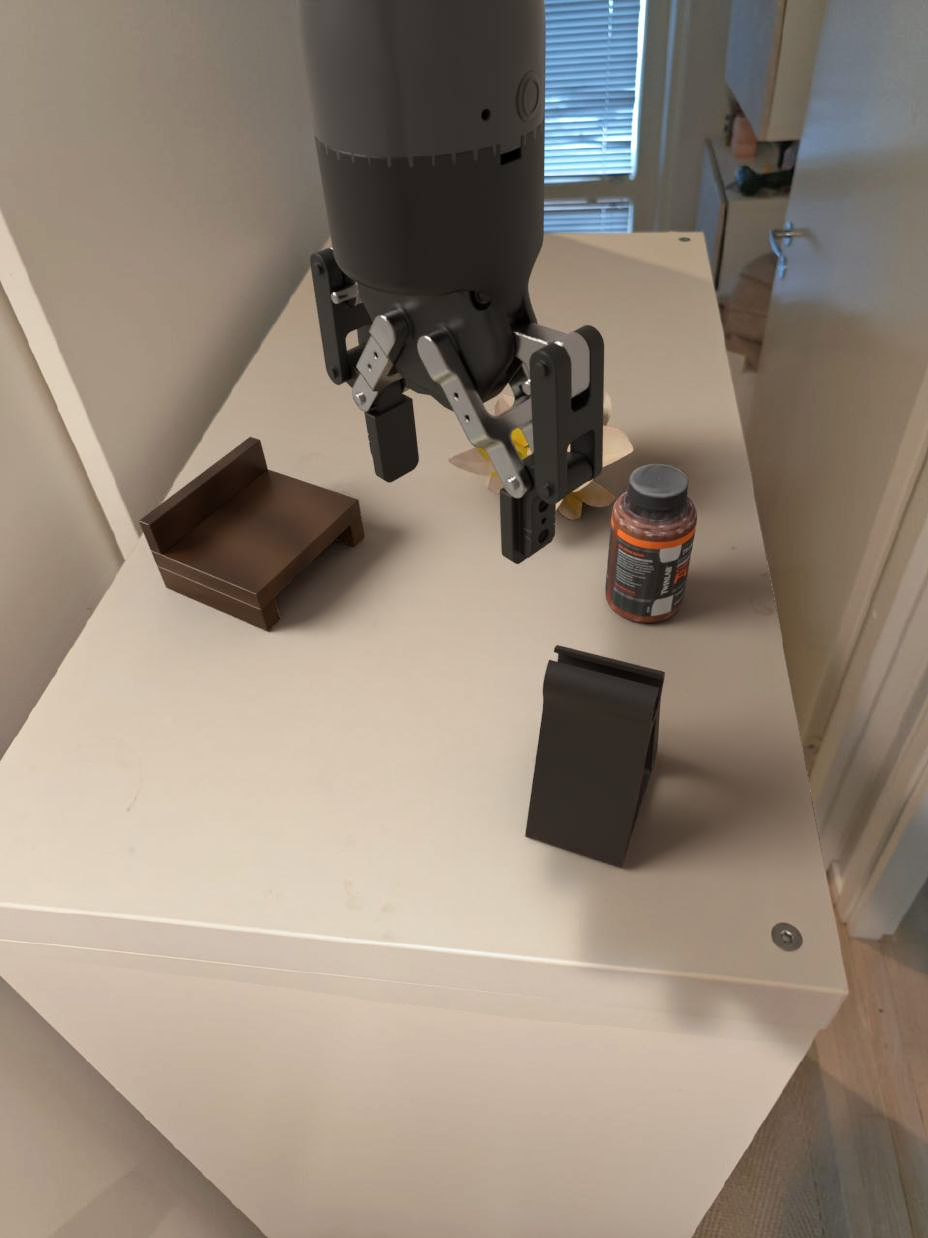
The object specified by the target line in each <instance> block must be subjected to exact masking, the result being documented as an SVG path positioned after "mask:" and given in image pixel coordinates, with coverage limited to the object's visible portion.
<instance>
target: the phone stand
mask: <svg viewBox="0 0 928 1238" xmlns="http://www.w3.org/2000/svg"><path fill="white" fill-rule="evenodd" d="M553 653H555V654H557V660H553V659H548V661H547V665H546V667H545V672H544V677H543V682H542V711H541V718H540V726H539V732H538V740H537V746H536V747H537V748H536V755H535V762H534V769H533V776H532V784H531V791H530V798H529V806H528V811H527V819H526V825H525V833H524V834H525V835H524V836H525V838H528V839H531V840H533V841H535V842H537V841H538V842H540V843H543V844H545V845H549V846H552V847H555V848H557V849H558V848H559V849H561V850H564V851H567V852H570V853H573V854H576V855H579V856H583V857H586V858H588V859H592V860H595V861H598V862H601V863H604V864H607V865H610V866H613V867H616V868H619V869H623V866H624V862H625V859H626V855H627V854H628V853H627V852H628V849H629V846H630V842H631V839H632V837H633V833H634V829H635V826H636V822H637V819H638V816H639V813H640V809H641V807H642V803H643V800H644V796H645V793H646V790H647V788H648V783H649V780H650V777H651V774H652V770H653V767H654V764H655V761H656V758H657V753H658V747H659V732H660V731H659V730H660V719H661V717H660V716H661V715H660V714H661V701H662V694H663V688H664V683H665V677H666V671H663V670H659V669H654V668H651V667H647V666H643V665H639V664H635V663H631V662H627V661H623V660H619V659H615V658H611V657H607V656H603V655H599V654H595V653H591V652H587V651H583V650H579V649H575V648H571V647H567V646H563V645H560V644H556V645H555V646H554V648H553Z"/></svg>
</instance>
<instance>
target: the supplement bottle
mask: <svg viewBox="0 0 928 1238" xmlns="http://www.w3.org/2000/svg"><path fill="white" fill-rule="evenodd" d="M688 490H689V478H688V476H687V475H686V473H685V472H683V471H682V470H681V469H679V468H678V467H675V466H673V465H669V464H664V463H648V464H644V465H641V466H639V467H637V468H636V469H634V470H633V471H632V472H631V473H630V476H629V480H628V486H627V489H626V491H624V492H623V493H622V494H621V495H619V496H618V498H617V499H615V500H616V501H614V504H613V507H612V511H611V517H610V528H609V529H610V530H609V542H608V552H607V561H606V562H607V563H606V564H607V565H606V575H605V587H604V589H605V591H604V593H605V594H604V595H605V600H606V602H607V603H608V604H607V605H608V606H609V607H610V609H611V610H612V611H613V612H614V613H615V614H617V615H618V616H620V617H621V618H623V619H626V620H628V621H631V622H636V623H641V624H642V623H644V624H652V623H659V622H663V621H665V620H667V619H670V618H671V617H673V615H674V616H675V614H676V613H677V612H678V611H679V609H680V608H681V607H682V604H683V599H684V597H685V592H686V585H687V580H688V574H689V568H690V562H691V557H692V552H693V546H694V541H695V536H696V528H697V523H698V512H697V508H696V505H695V503H694V502H693V500H692V499H691V498H690V497H689V496H688V494H689V492H688Z"/></svg>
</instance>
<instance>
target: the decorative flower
mask: <svg viewBox="0 0 928 1238" xmlns="http://www.w3.org/2000/svg"><path fill="white" fill-rule="evenodd" d="M513 403H514V395H513V396H512V395H508V394H501V395H500V396H499V398H498V399H497V401H496V403H495V404H494V409H493V410H494V416H497V415H499V414H500V413H502V412H504V411H506V410H507V409H509V408H511V407H512V405H513ZM612 405H613V404H612V399H611V397H610V395H609V393H608V392H607V391H605V390H604V403H603V468H605V467H606V466H608V465H611V464H613V463H615V462H617V461H619V460H621V459H623V458H624V457H626V456H628V455H630V454H631V453H632V452H634V446H633V444H632V442H631V440H630V439H629V438H628V436H627V434H626V433H625V432H623V431H621V430H619V429H618V428H616V427H612V426H608V423H609V421H610V418H611V415H612V409H613V406H612ZM511 438H512V441H513V443H514V445H515V447H516V449H517V451H518V453H519V455H520V458H521V460H522V459H524V458H526V457H527V456H529V455H531V454H532V451H531V449H530V447H529V445H528V443H527V441H526V439H525V437H524V435H523V433H522V431H521V430H520V429H519V428H516V429H515V430H513V432H512V434H511ZM567 452H570V445H569V446H568V449H567ZM447 461H448V463H450V464H451V465H452V466H454V467H456V468H458V469H461V470H464V471H465V472H469V473H472V474H474V475H475V474H476V475H478V476H483V477H486V478H485V479H484V484H485V486H486V489H487V490H488V491H489V492H492V493H493V494H496V495H499V496H500V489H502V488H504V486H503V484H502V482H501V480H500V478H499V476H498V474H497V472H496V470H495V468H494V466H493V464H492V462H491V460H490V458H489V456H488V454H487V452H486V451H485V450H484V449H483V448H477V447H472V448H470V449H468V450H466V451H465V450H464V451H463V452H459V453H458V454H455V455H453V456H452V457H449V458H447ZM615 500H616V496H615V495H614V494H612V493H611V492H610V491H608V489H606V488H605V487H604V486H602V485H600V484H599V483H597V482H595V481H594V479H592V480H591V481H588V482H586V483H585V484H583V485H582V486H580V487H579V488H577V489H576V490H574V491H573V492H571V493H570V494H568V495H567V496H566V497H565V498H564V499H562V500H561V501H559V502H558V503H556V511H557V510H558V511H559V513H560V514H562V515H563V516H564V517H565V518H566V519H569V520H571V521H573V520H574V521H575V520H577V519H580V518H581V516H582V510H583V509H582V508H583V507H582V506H583V503H585V504H586V505H588V506H591V507H596V508H604V507H608V506H609V505H611V504H612V503H613V502H615Z"/></svg>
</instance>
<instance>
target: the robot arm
mask: <svg viewBox="0 0 928 1238" xmlns="http://www.w3.org/2000/svg"><path fill="white" fill-rule="evenodd" d="M295 2H296V19H297V21H296V22H297V33H298V34H297V35H298V41H299V49H300V57H301V62H302V68H303V75H304V80H305V82H304V83H305V86H306V93H307V100H308V105H309V111H310V118H311V124H312V129H313V136H314V144H315V148H316V155H317V163H318V168H319V175H320V180H321V186H322V192H323V199H324V205H325V210H326V211H325V212H326V217H327V224H328V229H329V235H330V243H331V246H329V247H326V248H324V249H320V250H319V251H315V252H313V253H311V254H310V257H309V265H310V271H311V278H312V284H313V285H312V286H313V293H314V298H315V304H316V312H317V318H318V324H319V330H320V331H319V332H320V337H321V345H322V351H323V359H324V367H325V370H326V371H325V372H326V373H327V375H328V377H329V379H330V380H331V382H332V383H333V384H335V385H337V386H340V385H342V384H345V383H346V384H347V385H348V386H349V387H350V388H351V396H352V400H353V401H354V404H355V405H356V407H357V408H358V409H359V410H360V411H362V412H363V413H364V419H365V425H366V432H367V439H368V441H369V442H368V446H369V451H370V454H371V456H372V463H373V468H374V469H373V470H374V474H375V476H377V477H378V478H379V479H381V480H383V481H385V482H386V483H389V484H390V483H393V482H395V481H397V480H399V479H400V478H402V477H404V476H405V475H407V474H409V473H410V472H412V471H414V470H415V469H416V468H417V466H418V465H419V462H420V453H419V446H418V445H419V444H418V437H417V428H416V427H417V426H416V419H415V410H414V408H415V407H414V402H413V401H414V400H413V398H412V397H410V396H408V395H406V394H405V393H406V392H407V391H409V390H411V391H412V392H415V393H417V394H419V395H427V396H430V397H432V398H433V400H435V401H436V402H437V403H439V405H441V406H443V408H445V409H447V410H449V411H450V412H453V413H454V414H455V416H456V417H455V418H457V420H458V422H459V425H460V427H461V429H462V430H463V432H464V434H465V436H466V438H467V440H468V442H469V443H470V445H472V446H473V448H475V447H477V448H483V449H484V450H485V451H486V452H487V454H488V456H489V458H490V460H491V462H492V464H493V466H494V468H495V470H496V472H497V474H498V476H499V478H500V480H501V482H502V484H503V486H504V488H502V489H500V495H499V515H500V516H499V517H500V545H501V549H500V551H501V555H502V556H503V557H504V558H506V559H507V560H509V561H510V562H512V563H513V564H515V565H519V564H521V563H522V562H524V561H525V560H527V559H530V557H532V556H533V555H535V554H536V553H538V552H539V551H541V550H542V549H544V548H545V547H546V546H549V545H550V544H551V543H552V542H553V539H554V537H555V536H556V515H557V513H556V512H557V510H556V503H558V502H559V501H561V500H562V499H564V498H565V497H566V496H567V495H568V494H570V493H571V492H573V491H574V490H576V489H577V488H579V487H580V486H582V485H583V484H585V483H586V482H588V481H591V480H592V479H593V480H594V479H596V478H597V477H599V476H600V475H601V474H602V472H603V468H604V467H603V403H604V391H605V342H604V338H603V336H602V334H601V332H600V331H599V330H598V329H597V328H596V327H595V326H593V325H591V324H585V325H582V326H580V327H579V328H576V329H575V330H573V331H570V332H564V331H560V330H557V329H553V328H551V327H547V326H545V325H541V324H539V323H538V319H537V316H536V313H535V311H534V308H533V305H532V301H531V297H530V292H529V284H530V278H531V276H532V271H533V269H534V267H535V264H536V261H537V259H538V257H539V255H540V253H541V250H542V248H543V244H544V236H545V155H546V154H545V148H546V147H545V145H546V144H545V140H546V139H545V138H546V137H545V136H546V135H545V134H546V59H547V58H546V52H547V51H546V50H547V45H546V44H547V33H546V32H547V28H546V27H547V26H546V24H547V23H546V7H545V6H546V5H545V0H296V1H295ZM354 331H356V335H357V343H358V345H356V346H354V347H352V348H349V349H348V348H347V342H346V341H347V337H348V335H349V334H350V333H352V332H354ZM507 385H509V387H510V389H511V391H512V394H513V397H514V403H513V405H512V407H511V408H509V409H507V410H506V411H504V412H502V413H500V414H499V415H497V416H495V415H493V414H491V413H490V412H488V410H487V409H486V407H485V403H487V402H489V401H490V400H493V399H494V398H496V397H498V395H500V394H501V393H502V392H503V391H504V389H505V388H506V387H507ZM516 428H519V429H520V430H521V431H522V433H523V435H524V437H525V439H526V441H527V443H528V445H529V447H530V449H531V451H532V454H531V455H529V456H527V457H526V458H524V459H522V460H521V458H520V455H519V453H518V451H517V449H516V447H515V445H514V443H513V441H512V438H511V434H512V432H513V430H515V429H516ZM569 445H570V452H567V449H568V446H569ZM593 480H592V481H593Z"/></svg>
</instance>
